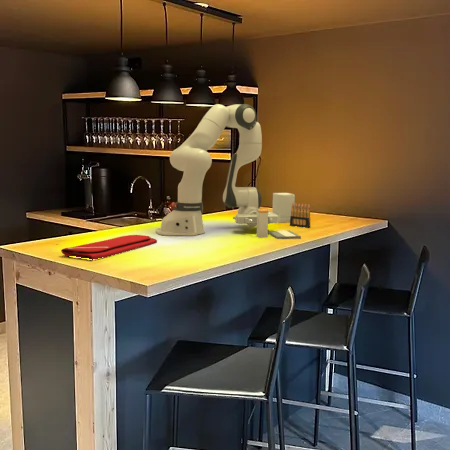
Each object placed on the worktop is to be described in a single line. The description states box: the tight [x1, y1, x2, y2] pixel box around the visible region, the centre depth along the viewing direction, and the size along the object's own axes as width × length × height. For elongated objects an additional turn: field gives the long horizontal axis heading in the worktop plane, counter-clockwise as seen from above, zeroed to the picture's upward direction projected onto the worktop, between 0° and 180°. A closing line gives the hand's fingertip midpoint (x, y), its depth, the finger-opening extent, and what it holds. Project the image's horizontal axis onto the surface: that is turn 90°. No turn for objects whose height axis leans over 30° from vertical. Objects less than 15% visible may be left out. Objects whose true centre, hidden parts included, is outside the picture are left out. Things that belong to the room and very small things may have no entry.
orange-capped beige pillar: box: [256, 209, 269, 238], centre depth 258 cm, size 4×4×12 cm
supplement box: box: [271, 192, 296, 224], centre depth 303 cm, size 9×9×15 cm
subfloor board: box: [268, 229, 302, 240], centre depth 262 cm, size 11×15×1 cm
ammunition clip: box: [289, 202, 311, 229], centre depth 287 cm, size 11×2×12 cm, turn 57°
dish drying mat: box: [60, 234, 158, 260], centre depth 225 cm, size 16×41×4 cm, turn 153°
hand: (261, 221), depth 260 cm, fingers open, 8 cm apart
